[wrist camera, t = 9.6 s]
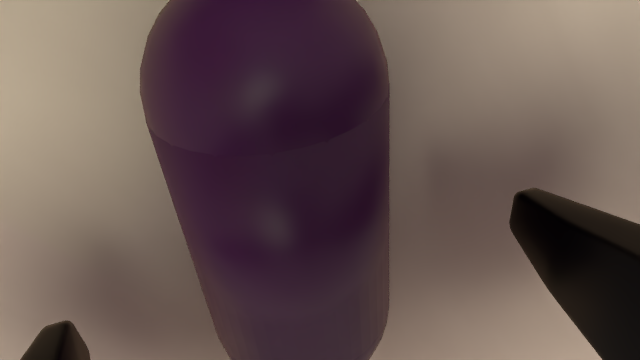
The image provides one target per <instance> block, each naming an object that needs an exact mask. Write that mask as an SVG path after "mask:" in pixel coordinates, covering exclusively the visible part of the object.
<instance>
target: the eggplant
mask: <svg viewBox="0 0 640 360" xmlns="http://www.w3.org/2000/svg"><path fill="white" fill-rule="evenodd" d="M140 95H141V99H142V104H143V109H144V113H145V118H146V123H147V126H148V129H149V132H150V135H151V138H152V141H153V144H154V147H155V150H156V153H157V156H158V159H159V162H160V165H161V168H162V171H163V174H164V177H165V180H166V183H167V186H168V189H169V192H170V195H171V198H172V201H173V204H174V207H175V210H176V213H177V216H178V219H179V222H180V225H181V228H182V231H183V234H184V237H185V240H186V243H187V246H188V249H189V252H190V255H191V258H192V261H193V264H194V267H195V270H196V273H197V276H198V279H199V282H200V285H201V288H202V291H203V294H204V296H205V299H206V302H207V305H208V308H209V311H210V314H211V317H212V320H213V323H214V326H215V329H216V332H217V335H218V337H219V340H220V341H221V343H222V345H223V347H224V349H225V351H226V352H227V354H228V355H229V357H230V359H231V360H369V359H370V357H371V356H372V354H373V352H374V351H375V349H376V347H377V346H378V344H379V342H380V340H381V338H382V335H383V332H384V330H385V327H386V323H387V317H388V310H389V76H388V66H387V60H386V57H385V54H384V51H383V48H382V45H381V42H380V39H379V36H378V33H377V30H376V29H375V27H374V25H373V23H372V22H371V20H370V18H369V17H368V15H367V13H366V12H365V10H364V9H363V8H362V7H361V6H360V4H359V3H358V2H357V1H356V0H170V1H169V2H168V3H167V5H166V6H165V7H164V8H163V9H162V11H161V12H160V13H159V15H158V17H157V19H156V21H155V23H154V25H153V27H152V29H151V31H150V33H149V35H148V38H147V42H146V46H145V50H144V54H143V59H142V63H141V67H140Z"/></svg>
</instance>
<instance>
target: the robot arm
mask: <svg viewBox="0 0 640 360" xmlns="http://www.w3.org/2000/svg"><path fill="white" fill-rule="evenodd" d="M509 223H510V229H511V231H512V233H513V235H514V236H515V238H516V239H517V241H518V243H519V244H520V246H521V247H522V249H523V251H524V252H525V254H526V255H527V257H528V259H529V260H530V262H531V263H532V265H533V267H534V268H535V270H536V271H537V273H538V275H539V276H540V278H541V279H542V281H543V282H544V284H545V285H546V287H547V288H548V290H549V291H550V293H551V294H552V295H553V297H554V298H555V299H556V301H557V302H558V303H559V304H560V306H561V307H562V308H563V310H564V311H565V312H566V313H567V315H568V316H569V317H570V319H571V320H572V321H573V322H574V324H575V325H576V326H577V328H578V329H579V330H580V331H581V333H582V334H583V335H584V337H585V338H586V339H587V340H588V342H589V343H590V344H591V346H592V347H593V348H594V349H595V351H596V352H597V353H598V355H599V356H600V357H601V358H602V360H640V224H637V223H634V222H631V221H628V220H626V219H623V218H620V217H617V216H614V215H611V214H609V213H606V212H603V211H600V210H597V209H594V208H591V207H589V206H586V205H583V204H580V203H577V202H574V201H572V200H569V199H566V198H563V197H560V196H557V195H555V194H552V193H549V192H546V191H543V190H540V189H537V188H530V189H526V190H523V191H519V192H517V193H516V194H515V196H514V199H513V204H512V210H511V215H510V221H509ZM20 360H91V359H90V354H89V350H88V348H87V346H86V344H85V342H84V341H83V339H82V337H81V336H80V334H79V332H78V331H77V329H76V327H75V326H74V324H73V323H72V322H71V321H62V322H59V323H55V324H52V325H48V326H46V327H44V328H43V329H42V330H41V332H40V333H39V334H38V336H37V337H36V339H35V340H34V341H33V343H32V344H31V345H30V347H29V348H28V350H27V351H26V352H25V354H24V355H23V357H22V358H21V359H20Z"/></svg>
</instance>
